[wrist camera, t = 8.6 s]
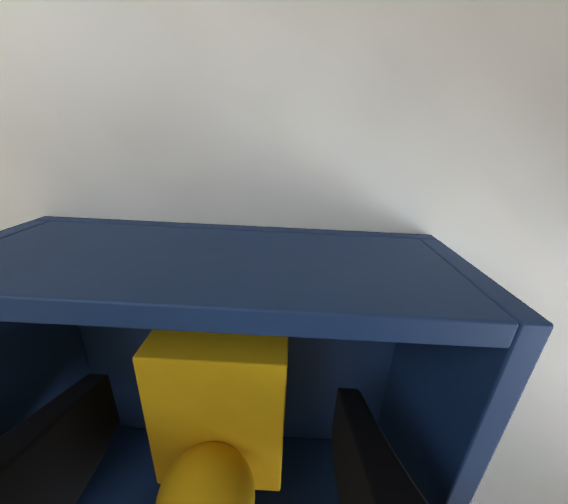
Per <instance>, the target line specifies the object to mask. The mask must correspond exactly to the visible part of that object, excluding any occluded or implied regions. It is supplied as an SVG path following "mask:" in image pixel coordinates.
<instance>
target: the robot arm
mask: <svg viewBox="0 0 568 504" xmlns="http://www.w3.org/2000/svg"><path fill="white" fill-rule="evenodd" d="M119 421H120V420H119V416H118V412H117V407H116V403H115V399H114V395H113V391H112V387H111V383H110V379H109V375H106V374H88V375H86V376H85V377H84V378H82V379H81V380H79V381H78V382H76V383H75V384H73V385H72V386H71V387H69V388H68V389H66V390H65V391H64V392H62V393H61V394H60V395H58V396H57V397H55V398H54V399H53V400H51V401H50V402H49V403H47V404H46V405H44V406H43V407H42V408H40V409H39V410H37V411H36V412H35V413H33V414H32V415H30V416H29V417H28V418H26V419H25V420H23V421H22V422H21V423H19V424H18V425H16V426H15V427H14V428H12V429H11V430H9V431H8V432H7V433H5V434H4V435H2V436H1V437H0V504H76V502H77V501H78V499H79V497H80V496H81V494H82V492H83V491H84V489H85V487H86V485H87V484H88V482H89V480H90V479H91V477H92V475H93V474H94V472H95V470H96V468H97V467H98V465H99V463H100V462H101V460H102V458H103V456H104V454H105V452H106V450H107V448H108V446H109V444H110V442H111V439H112V437H113V435H114V433H115V430H116V428H117V426H118V424H119ZM331 438H332V451H333V464H334V474H335V480H336V486H337V492H338V498H339V504H428V503H427V501H426V500H425V498H424V497H423V495H422V494H421V492H420V491H419V489H418V488H417V486H416V485H415V483H414V482H413V480H412V479H411V477H410V476H409V474H408V473H407V471H406V470H405V468H404V467H403V465H402V463H401V462H400V460H399V459H398V457H397V455H396V454H395V452H394V451H393V449H392V447H391V446H390V444H389V442H388V441H387V439H386V437H385V436H384V434H383V432H382V431H381V429H380V427H379V425H378V424H377V422H376V420H375V418H374V416H373V415H372V413H371V411H370V409H369V407H368V405H367V403H366V402H365V400H364V398H363V396H362V394H361V392H360V391H359V390H358V389H353V388H338V390H337V397H336V404H335V411H334V417H333V424H332V431H331Z"/></svg>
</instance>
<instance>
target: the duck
mask: <svg viewBox="0 0 568 504" xmlns="http://www.w3.org/2000/svg"><path fill="white" fill-rule="evenodd" d="M132 360H133V365H134V370H135V375H136V380H137V385H138V390H139V395H140V400H141V405H142V409H143V414H144V419H145V424H146V429H147V434H148V439H149V444H150V449H151V454H152V459H153V464H154V469H155V474H156V479H157V483H158V484H161V485H160V488H159V491H158V494H157V499H156V504H255V490H269V491H280V489H281V472H282V454H283V437H284V419H285V402H286V384H287V367H288V337H283V336H264V335H246V334H227V333H208V332H189V331H171V330H152V331H151V333H150V334H149V335H148V337H147V338H146V339H145V341H144V342H143V344H142V345H141V346H140V348H139V349H138V351H137V352H136V353H135V355H134V356H133V359H132Z"/></svg>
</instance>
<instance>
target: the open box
mask: <svg viewBox="0 0 568 504" xmlns="http://www.w3.org/2000/svg"><path fill="white" fill-rule="evenodd" d="M552 329H553V324H552V323H551V322H549V321H548V320H547V319H545V318H544V317H542V316H541V315H540V314H538V313H537V312H536V311H534V310H533V309H532V308H530V307H529V306H527V305H526V304H525V303H523V302H522V301H521V300H519V299H518V298H517V297H515V296H514V295H512V294H511V293H510V292H508V291H507V290H506V289H504V288H503V287H502V286H500V285H499V284H497V283H496V282H495V281H493V280H492V279H491V278H489V277H488V276H487V275H485V274H484V273H482V272H481V271H480V270H478V269H477V268H476V267H474V266H473V265H472V264H470V263H469V262H467V261H466V260H465V259H463V258H462V257H461V256H459V255H458V254H457V253H455V252H454V251H452V250H451V249H450V248H448V247H447V246H446V245H444V244H443V243H442V242H440V241H439V240H437V239H436V238H435V237H433V236H432V235H424V234H403V233H383V232H362V231H341V230H320V229H299V228H278V227H257V226H237V225H216V224H195V223H174V222H153V221H132V220H111V219H91V218H70V217H49V216H44V217H41V218H38V219H35V220H32V221H29V222H26V223H23V224H20V225H17V226H14V227H11V228H8V229H5V230H2V231H0V437H1V436H2V435H4V434H5V433H7V432H8V431H9V430H11V429H12V428H14V427H15V426H16V425H18V424H19V423H21V422H22V421H23V420H25V419H26V418H28V417H29V416H30V415H32V414H33V413H35V412H36V411H37V410H39V409H40V408H42V407H43V406H44V405H46V404H47V403H49V402H50V401H51V400H53V399H54V398H55V397H57V396H58V395H60V394H61V393H62V392H64V391H65V390H66V389H68V388H69V387H71V386H72V385H73V384H75V383H76V382H78V381H79V380H81V379H82V378H84V377H85V376H86V375H88V374H106V375H109V379H110V383H111V387H112V391H113V395H114V399H115V403H116V407H117V412H118V416H119V420H120V421H119V424H118V426H117V428H116V430H115V433H114V435H113V437H112V439H111V442H110V444H109V446H108V448H107V450H106V452H105V454H104V456H103V458H102V460H101V462H100V463H99V465H98V467H97V468H96V470H95V472H94V474H93V475H92V477H91V479H90V480H89V482H88V484H87V485H86V487H85V489H84V491H83V492H82V494H81V496H80V497H79V499H78V501H77V502H76V504H156V499H157V494H158V491H159V488H160V485H161V484H158V483H157V479H156V474H155V469H154V464H153V459H152V454H151V449H150V444H149V439H148V434H147V429H146V424H145V419H144V414H143V409H142V405H141V400H140V395H139V390H138V385H137V380H136V375H135V370H134V365H133V360H132V359H133V356H134V355H135V353H136V352H137V351H138V349H139V348H140V346H141V345H142V344H143V342H144V341H145V339H146V338H147V337H148V335H149V334H150V333H151V331H152V330H171V331H189V332H208V333H227V334H246V335H264V336H283V337H288V367H287V384H286V402H285V419H284V437H283V454H282V472H281V489H280V491H269V490H255V504H339V498H338V492H337V486H336V480H335V474H334V464H333V451H332V438H331V431H332V424H333V417H334V411H335V404H336V397H337V390H338V388H353V389H358V390H359V391H360V392H361V394H362V396H363V398H364V400H365V402H366V403H367V405H368V407H369V409H370V411H371V413H372V415H373V416H374V418H375V420H376V422H377V424H378V425H379V427H380V429H381V431H382V432H383V434H384V436H385V437H386V439H387V441H388V442H389V444H390V446H391V447H392V449H393V451H394V452H395V454H396V455H397V457H398V459H399V460H400V462H401V463H402V465H403V467H404V468H405V470H406V471H407V473H408V474H409V476H410V477H411V479H412V480H413V482H414V483H415V485H416V486H417V488H418V489H419V491H420V492H421V494H422V495H423V497H424V498H425V500H426V501H427V503H428V504H470V502H471V500H472V498H473V496H474V494H475V492H476V490H477V488H478V485H479V483H480V481H481V479H482V477H483V475H484V473H485V471H486V469H487V466H488V464H489V462H490V460H491V458H492V456H493V454H494V452H495V450H496V447H497V445H498V443H499V441H500V439H501V437H502V435H503V433H504V430H505V428H506V426H507V424H508V422H509V420H510V418H511V416H512V414H513V411H514V409H515V407H516V405H517V403H518V401H519V399H520V397H521V394H522V392H523V390H524V388H525V386H526V384H527V382H528V380H529V378H530V375H531V373H532V371H533V369H534V367H535V365H536V363H537V361H538V359H539V356H540V354H541V352H542V350H543V348H544V346H545V344H546V342H547V339H548V337H549V335H550V333H551V331H552Z"/></svg>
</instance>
